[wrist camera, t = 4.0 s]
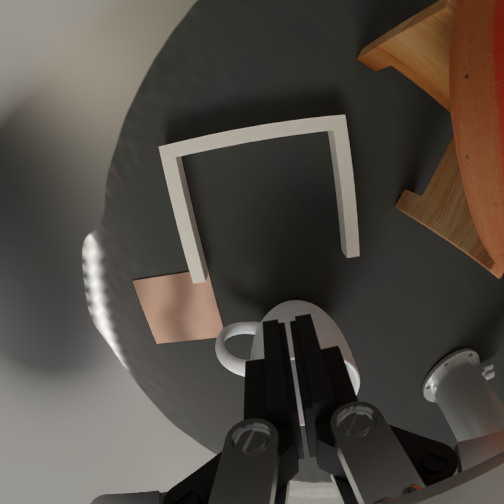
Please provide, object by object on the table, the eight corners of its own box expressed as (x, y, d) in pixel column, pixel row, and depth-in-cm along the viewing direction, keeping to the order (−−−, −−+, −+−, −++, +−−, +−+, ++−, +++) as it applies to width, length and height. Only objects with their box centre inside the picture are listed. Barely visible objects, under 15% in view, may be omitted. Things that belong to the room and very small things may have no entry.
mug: (215, 344, 41) (205, 418, 29) (226, 273, 37) (215, 340, 25) (320, 357, 42) (339, 428, 30) (344, 290, 38) (378, 356, 26)
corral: (338, 115, 31) (345, 114, 28) (353, 247, 36) (359, 256, 34) (165, 145, 32) (158, 146, 29) (196, 274, 37) (193, 283, 35)
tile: (207, 268, 37) (207, 268, 37) (225, 335, 41) (225, 336, 41) (132, 280, 38) (132, 280, 38) (156, 343, 41) (156, 343, 41)
